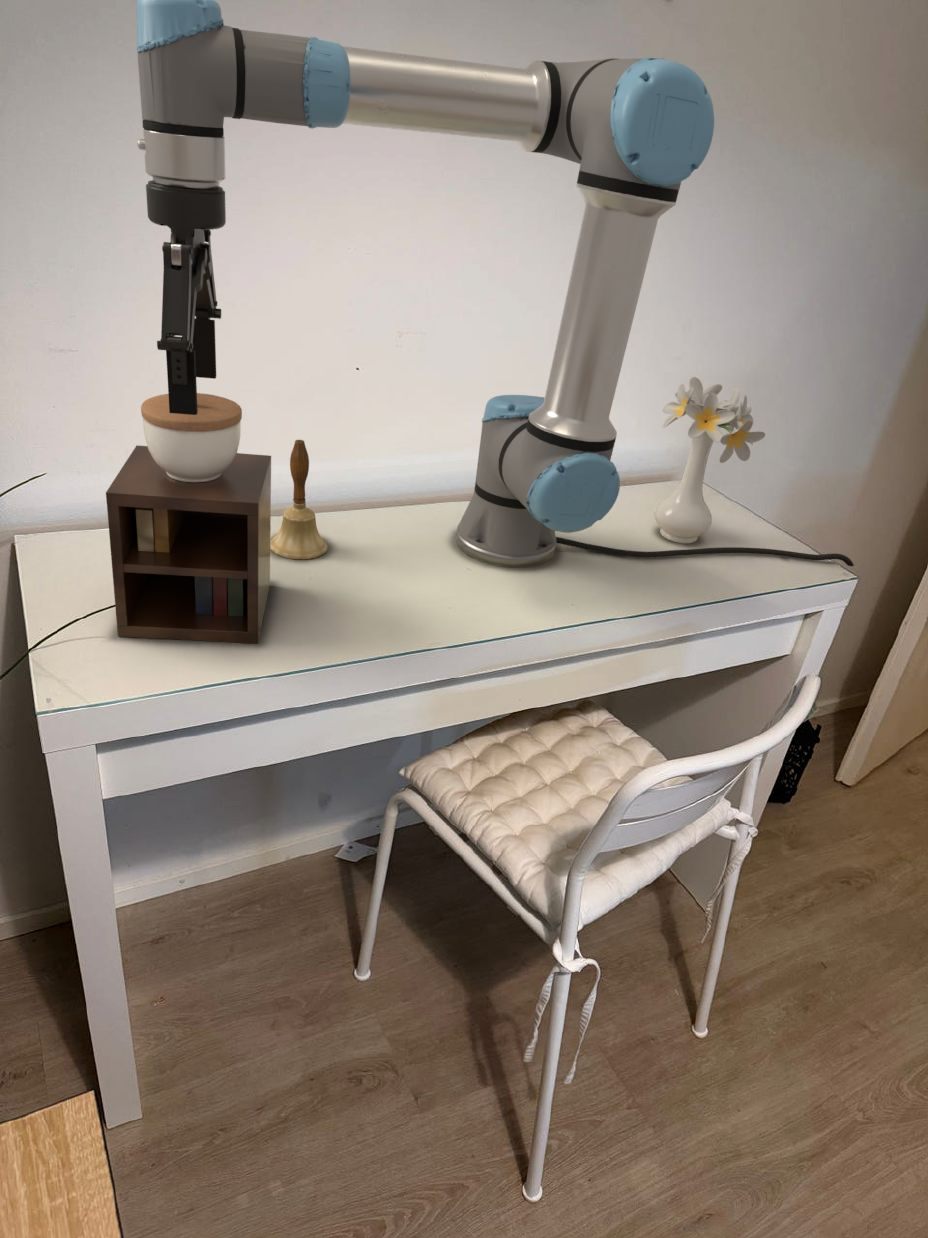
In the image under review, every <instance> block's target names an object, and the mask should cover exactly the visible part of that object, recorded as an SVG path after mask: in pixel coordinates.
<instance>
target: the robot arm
mask: <svg viewBox="0 0 928 1238" xmlns="http://www.w3.org/2000/svg"><path fill="white" fill-rule="evenodd" d="M136 39H137V40H136V45H137V46H136V53H137V54H136V55H137V69H138V83H139V94H140V95H139V96H140V107H141V119H142V128H143V134H142V135H143V138H140V139H138V140H137V147H138V149H139V150H140V151H145V154H144V167H145V168H144V169H145V173H146V174H147V175H148V176H150V177H152V180H148V182H147V183H146V184H145V193H146V195H145V196H146V208H147V209H146V210H147V211H146V212H147V217H148V220H149V221H150V222H151V223H152V224H155V225H158V226H161V227H162V226H163V227H168V228H169V229H170V242H168V241H163V244H162V247H161V251H162V258H163V259H162V261H163V275H162V305H161V332H160V334H161V336H160V339H159V340H156V348H157V350H158V351H165V355H166V356H165V357H166V371H167V372H166V375H167V391H168V393H167V394H169V412H170V413H176V414H189V415H197V413H198V409H197V393H198V388H197V387H198V386H197V385H198V384H197V378H201V379H217V353H216V352H217V348H216V347H217V346H216V322H215V321H216V320H215V319H217V320H221V319H222V309H221V308H217V307H218V301H217V293H216V283H215V274H214V265H213V264H214V263H213V256H212V246H211V245H212V244H211V236H212V231H211V230H219V229H222V228H223V227H225V225H226V221H227V220H226V219H227V218H226V214H227V213H226V191H225V190H224V188H223V187H222V186H220V183H222V182H224V181H225V180H226V147H225V145H226V143H225V136H224V133H225V131H224V130H225V129H224V122H225V121H224V120H225V118H231V119H234V120H241V119H242V120H250V121H259V122H265V123H271V124H272V123H273V124H282V125H290V126H300V127H308V129H311V130H312V129H317V128H324V129H325V128H326V129H327V128H328V129H335V128H340V127H341V126H342V125H350V126H362V127H370V128H380V129H389V130H390V129H391V130H401V131H410V132H418V133H419V132H421V133H422V132H423V133H430V134H440V135H448V136H449V135H450V136H459V137H468V138H469V137H470V138H479V139H490V140H497V141H498V140H499V141H508V142H509V141H512V142H517V143H518V145H519V147H520V148H521V149H522V151H524V152H527V153H537V154H542V155H543V154H544V155H549V156H553V157H556V158H560V159H564V160H567V161H569V162H573V163H576V164H579V170H578V174H577V180H576V188H577V190H578V192H579V194H580V195H581V197H582V198H583V200H584V205H585V206H584V210H583V215H582V219H581V224H580V229H579V234H578V239H577V243H576V249H575V253H574V258H573V262H572V267H571V272H570V276H569V281H568V287H567V291H566V295H565V300H564V303H563V304H564V305H563V309H562V313H561V314H562V315H561V319H560V325H559V329H558V333H557V338H556V342H555V348H554V352H553V357H552V362H551V367H550V370H549V371H550V372H549V376H548V380H547V385H546V390H545V394H544V396H537V395H526V394H501V395H496V396H493V397H491V398H490V399H489V400H487V402H486V404H485V407H484V412H483V417H482V418H481V423H482V425H481V433H480V440H479V441H480V442H479V450H478V458H477V465H476V466H477V467H476V474H475V483H474V492H473V495H472V497H471V498H470V501H469V503H468V504H467V507H466V509H465V511H464V513H463V515H462V517H461V519H460V521H459V523H458V525H457V529H456V537H455V541H456V544H457V546H458V548H459V549H460V550H461V551H462V552H463V553H465V554H466V555H468V556H469V557H471V558H473V559H475V560H478V561H480V562H483V563H487V564H491V565H494V566H499V567H506V568H530V567H535V566H540V565H543V564H545V563H548V562H550V561H551V560H552V559H553V558H554V555H555V553H556V546H557V544H559V545H564V546H568V547H572V548H573V547H574V548H578V549H582V550H587V551H593V552H598V553H603V554H608V555H614V556H621V557H629V558H630V557H631V558H632V557H633V558H645V559H646V558H648V559H649V558H652V559H653V558H668V557H682V556H684V557H685V556H697V555H711V554H713V555H714V554H756V555H768V556H777V557H778V556H779V557H786V558H794V559H800V560H809V561H828V560H838V561H842V562H844V563H845V564H846V565H847V566H848V567H854V566H855V564H854V563H853V561H852V559H851V558H850V557H848V556H847V555H844V554H842V553H823V554H813V553H806V552H805V553H804V552H797V551H789V550H784V549H774V548H762V547H743V546H742V547H740V546H739V547H734V546H733V547H730V546H729V547H727V546H725V547H723V546H722V547H701V548H691V549H690V548H689V549H672V550H671V549H669V550H658V551H657V550H655V551H642V550H641V551H640V550H629V549H619V548H613V547H607V546H602V545H598V544H593V543H592V544H591V543H586V542H581V541H577V540H574V539H569V538H563V537H558V536H557V535H556V532H558V533H565V534H570V533H576V532H581V531H584V530H587V529H590V528H591V527H593V526H594V524H595V523H597V522H598V521H601V520H602V519H604V518H605V517H606V516H607V515H608V514H609V512H610V511H611V510H612V509H613V507H614V505H615V504H616V502H617V499H618V496H619V494H620V488H621V480H620V474H619V472H618V471H617V466H616V465H615V464H614V462H613V461H611V459H612V456H613V452H614V448H615V444H616V439H617V435H618V431H617V429H616V428H615V426H614V424H613V423H612V422H611V420H610V415H611V410H612V407H613V402H614V399H615V396H616V395H615V394H616V391H617V386H618V384H619V383H618V382H619V378H620V374H621V370H622V366H623V361H624V359H625V355H626V351H627V346H628V343H629V337H630V334H631V330H632V326H633V322H634V318H635V313H636V310H637V307H638V301H639V297H640V293H641V289H642V287H643V286H642V285H643V282H644V278H645V274H646V269H647V265H648V262H649V257H650V253H651V249H652V246H653V242H654V238H655V233H656V229H657V225H658V221H659V219H660V218H661V217H662V215H664V214H665V213H666V212H668V211H669V210H671V209H672V208H674V206H676V204H677V201H678V197H679V193H680V192H679V191H680V188H681V185H682V182H683V181H685V180H687V179H688V178H689V177H690V176H691V175H692V174H693V172H694V171H695V170H697V169H699V168H700V166H701V165H702V164H703V162H704V160H705V159H706V156H707V155H708V152H709V151H710V149H711V145H712V142H713V136H714V130H715V111H714V105H713V101H712V97H711V95H710V93H709V91H708V90H707V87H706V84H705V82H704V81H703V79H702V78H701V77H700V75H698V73H697V72H696V71H694V70H693V69H691V67H689V66H687V65H685V64H683V63H681V62H677V61H672V60H668V59H665V58H662V57H661V58H657V57H651V56H650V57H646V58H645V57H644V58H613V57H612V58H602V59H593V60H583V61H570V62H568V61H567V62H557V61H545V60H533V61H532V62H531V63H530V64H528V66H527V67H525V68H520V67H513V66H504V65H495V64H487V63H481V62H472V61H464V60H457V59H455V60H454V59H448V58H440V57H433V56H432V57H431V56H423V55H415V54H408V53H401V52H392V51H383V50H375V49H367V48H359V47H352V46H344V45H342V44H340V43H338V42H334V41H329V40H323V39H319V38H317V37H315V36H308V37H307V36H301V35H300V36H299V35H291V34H283V33H277V32H276V33H275V32H265V31H257V30H248V29H247V30H246V29H240V28H237V27H232V26H229V25H225V24H224V19H223V17H222V9H221V6H220V4H219V3H218V2H217V0H137V2H136Z"/></svg>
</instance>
